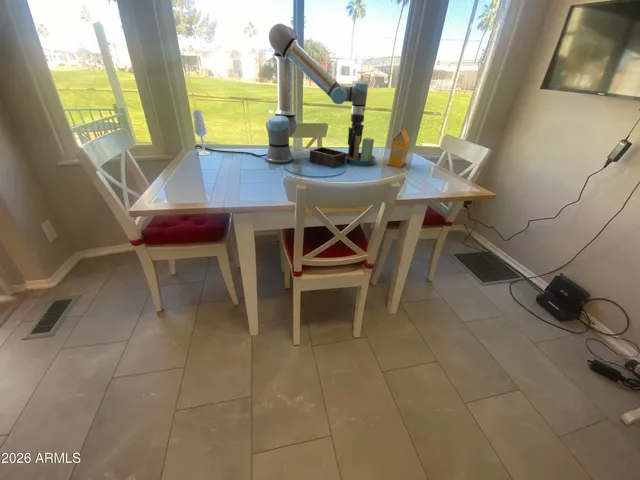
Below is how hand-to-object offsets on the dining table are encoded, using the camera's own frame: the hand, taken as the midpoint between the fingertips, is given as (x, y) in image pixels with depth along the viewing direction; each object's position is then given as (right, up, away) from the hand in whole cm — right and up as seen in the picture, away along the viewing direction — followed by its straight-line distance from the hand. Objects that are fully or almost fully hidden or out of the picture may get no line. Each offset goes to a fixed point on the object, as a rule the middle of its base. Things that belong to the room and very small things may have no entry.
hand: (353, 155), depth 167 cm
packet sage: (+7, -6, -3) cm, 9 cm away
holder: (-16, -6, -4) cm, 18 cm away
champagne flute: (-91, +1, -1) cm, 91 cm away
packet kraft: (0, -2, +1) cm, 3 cm away
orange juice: (+26, -6, -1) cm, 27 cm away
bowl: (+3, -4, -1) cm, 5 cm away
